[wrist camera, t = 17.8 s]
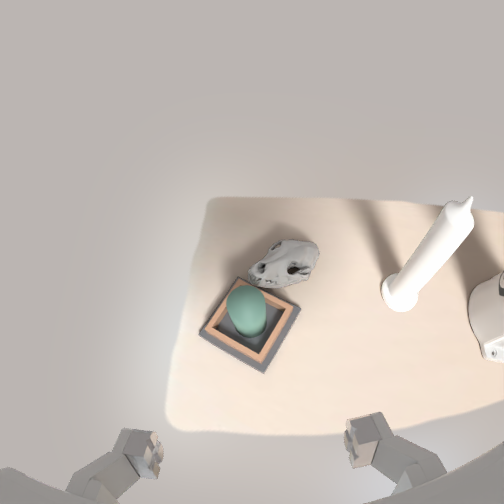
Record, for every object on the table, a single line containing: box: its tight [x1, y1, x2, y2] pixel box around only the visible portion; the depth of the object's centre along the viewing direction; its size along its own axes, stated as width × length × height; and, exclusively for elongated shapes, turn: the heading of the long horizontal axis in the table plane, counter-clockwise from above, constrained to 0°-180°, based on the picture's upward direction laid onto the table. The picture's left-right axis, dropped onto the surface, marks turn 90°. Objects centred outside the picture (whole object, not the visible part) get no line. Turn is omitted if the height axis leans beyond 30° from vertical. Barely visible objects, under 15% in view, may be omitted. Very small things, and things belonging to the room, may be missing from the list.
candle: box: [381, 196, 474, 312], centre depth 35 cm, size 7×7×25 cm
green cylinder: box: [226, 285, 267, 338], centre depth 41 cm, size 5×5×8 cm
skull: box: [248, 239, 320, 288], centre depth 46 cm, size 8×9×12 cm
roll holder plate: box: [199, 277, 301, 374], centre depth 44 cm, size 12×12×3 cm
